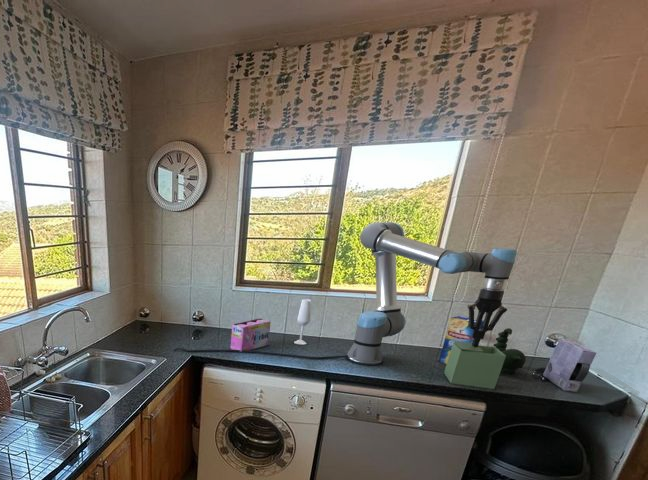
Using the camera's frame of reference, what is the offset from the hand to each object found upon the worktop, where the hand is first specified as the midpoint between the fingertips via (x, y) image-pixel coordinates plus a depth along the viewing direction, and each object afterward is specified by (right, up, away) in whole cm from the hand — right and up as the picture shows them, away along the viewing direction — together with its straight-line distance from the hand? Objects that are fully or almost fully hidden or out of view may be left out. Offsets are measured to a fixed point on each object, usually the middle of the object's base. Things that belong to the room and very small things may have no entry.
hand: (474, 345), depth 168 cm
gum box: (-82, +3, +48) cm, 96 cm away
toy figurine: (+29, -10, +19) cm, 36 cm away
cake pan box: (+38, -16, +2) cm, 42 cm away
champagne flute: (-52, +6, +57) cm, 77 cm away
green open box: (+1, -15, +5) cm, 16 cm away
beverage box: (+11, -7, +26) cm, 29 cm away
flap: (-2, 0, +1) cm, 2 cm away
